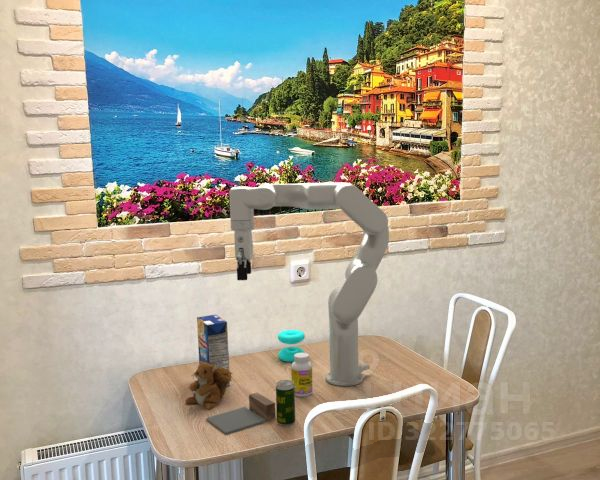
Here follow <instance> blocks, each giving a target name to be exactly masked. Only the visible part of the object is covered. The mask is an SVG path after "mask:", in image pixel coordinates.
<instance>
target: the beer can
mask: <svg viewBox="0 0 600 480" xmlns="http://www.w3.org/2000/svg"><path fill="white" fill-rule="evenodd" d="M275 401H276V402H275V411H276V423H277V424H278V425H279V426H280V427H286V428H287V427H291V426H294V425H295V423H296V397H295V386H294V383H293V381H292V379H291V380H289V379H282V380H281V379H280V380H278V381H277V382H276V384H275Z"/></svg>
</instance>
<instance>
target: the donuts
mask: <svg viewBox="0 0 600 480" xmlns="http://www.w3.org/2000/svg"><path fill="white" fill-rule="evenodd" d="M305 338H306V336H305V333H304V332H303V331H302V330H298V329H285V330H281V331H280V332H278V335H277V339H278V341H279V342H280V343H282V344H286V345H297V344H299V343H302V342H304V340H305ZM296 353H306V351H304V350H303V348H301V347H297V346H289V347H288V346H287V347H284V348H282V349H280V350H279V351H278V358H279V359H280V361H283V362H287V363H293V362H295V359H294V355H295V354H296Z"/></svg>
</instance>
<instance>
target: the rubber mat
mask: <svg viewBox="0 0 600 480" xmlns="http://www.w3.org/2000/svg"><path fill="white" fill-rule="evenodd" d="M205 420H206V421H207V422H208V423H210V424H211V425H212V426H213V427H214V428H216V429H217V430H219V432H221V433H223V434H224V435H229V434H232V433H235V432H239V431H242V430H245V429H248V428H251V427H255V426H258V425H261V424H264V423H266V422H267V420H266V419H264V418H263V417H261V416H260V415H258V414H257V413H255V412H254V411H252V410H250V408H249V407H247V406H243V407H239V408H236V409H232V410H228V411H227V412H221V413H219V414H215V415H212V416H208V417H206V419H205Z"/></svg>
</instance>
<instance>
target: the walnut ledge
mask: <svg viewBox="0 0 600 480" xmlns="http://www.w3.org/2000/svg"><path fill="white" fill-rule="evenodd" d="M248 404H249V407H248V409H249V410H251V411H252V412H254V413H255V414H257V415H258V416H260V417H261V418H263V419H264V420H266V421H268V420H272V419H274V418H275V419H276V402H274V401H272V400H271V399H269V398H268V397H267V396H265V395H263V394H261V393H259V392H254V393H251V394H249V395H248Z"/></svg>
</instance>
